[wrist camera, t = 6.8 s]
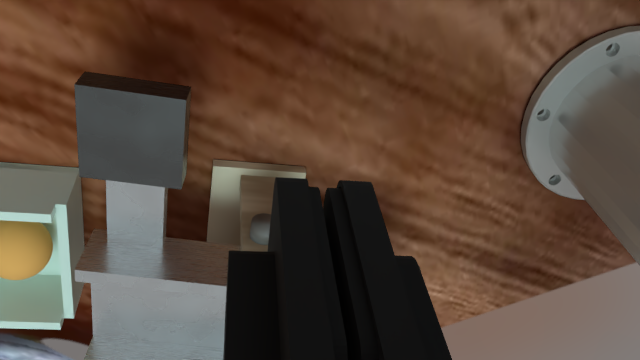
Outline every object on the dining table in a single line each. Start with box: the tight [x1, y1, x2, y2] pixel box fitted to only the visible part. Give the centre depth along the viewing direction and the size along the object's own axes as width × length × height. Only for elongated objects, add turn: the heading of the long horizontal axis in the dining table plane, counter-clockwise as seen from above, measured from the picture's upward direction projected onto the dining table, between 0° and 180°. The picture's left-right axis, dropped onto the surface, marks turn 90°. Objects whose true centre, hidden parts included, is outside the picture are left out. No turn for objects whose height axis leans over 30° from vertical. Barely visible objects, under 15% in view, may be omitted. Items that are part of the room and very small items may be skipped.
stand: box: [206, 160, 306, 252], centre depth 39 cm, size 6×13×9 cm, turn 171°
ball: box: [0, 220, 53, 280], centre depth 38 cm, size 4×4×4 cm
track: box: [74, 72, 421, 360], centre depth 34 cm, size 19×18×6 cm
